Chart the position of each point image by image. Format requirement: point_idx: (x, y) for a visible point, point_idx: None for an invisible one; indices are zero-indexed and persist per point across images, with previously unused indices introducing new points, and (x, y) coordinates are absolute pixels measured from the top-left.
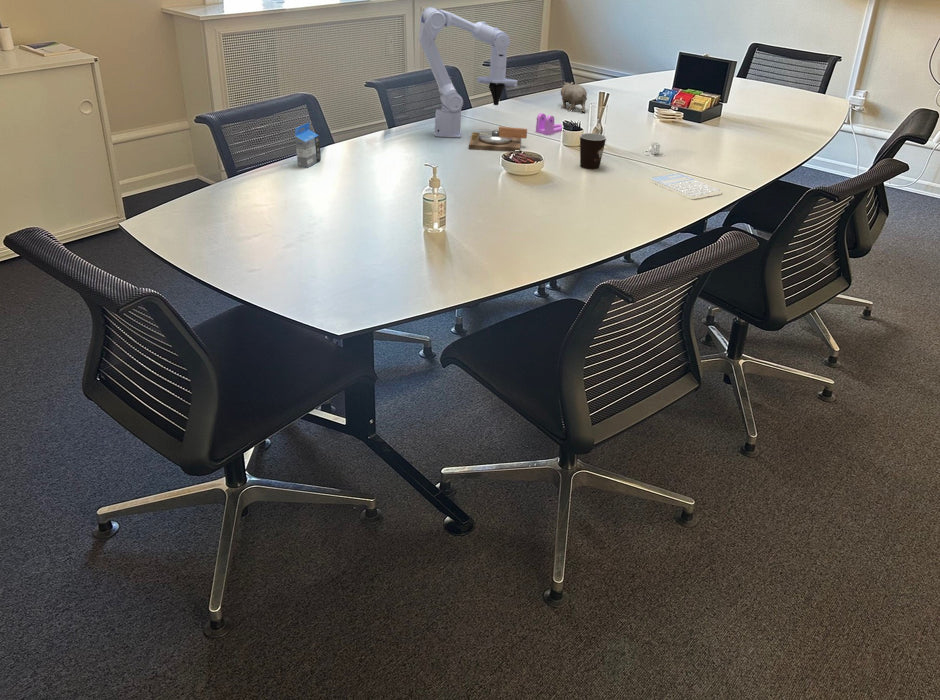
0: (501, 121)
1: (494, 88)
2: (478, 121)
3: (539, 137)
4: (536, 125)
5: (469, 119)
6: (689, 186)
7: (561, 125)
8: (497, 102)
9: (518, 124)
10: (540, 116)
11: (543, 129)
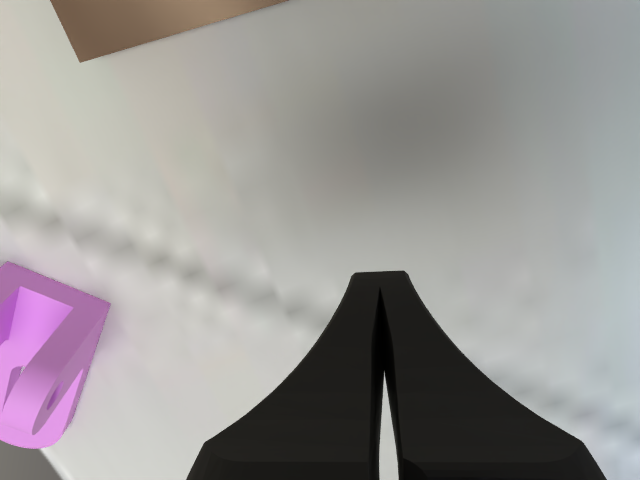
0: None
1: (416, 443)
2: (560, 388)
3: (14, 186)
4: (86, 333)
5: (633, 408)
6: None
7: (12, 430)
8: (346, 290)
9: None
10: (16, 382)
11: (47, 319)
